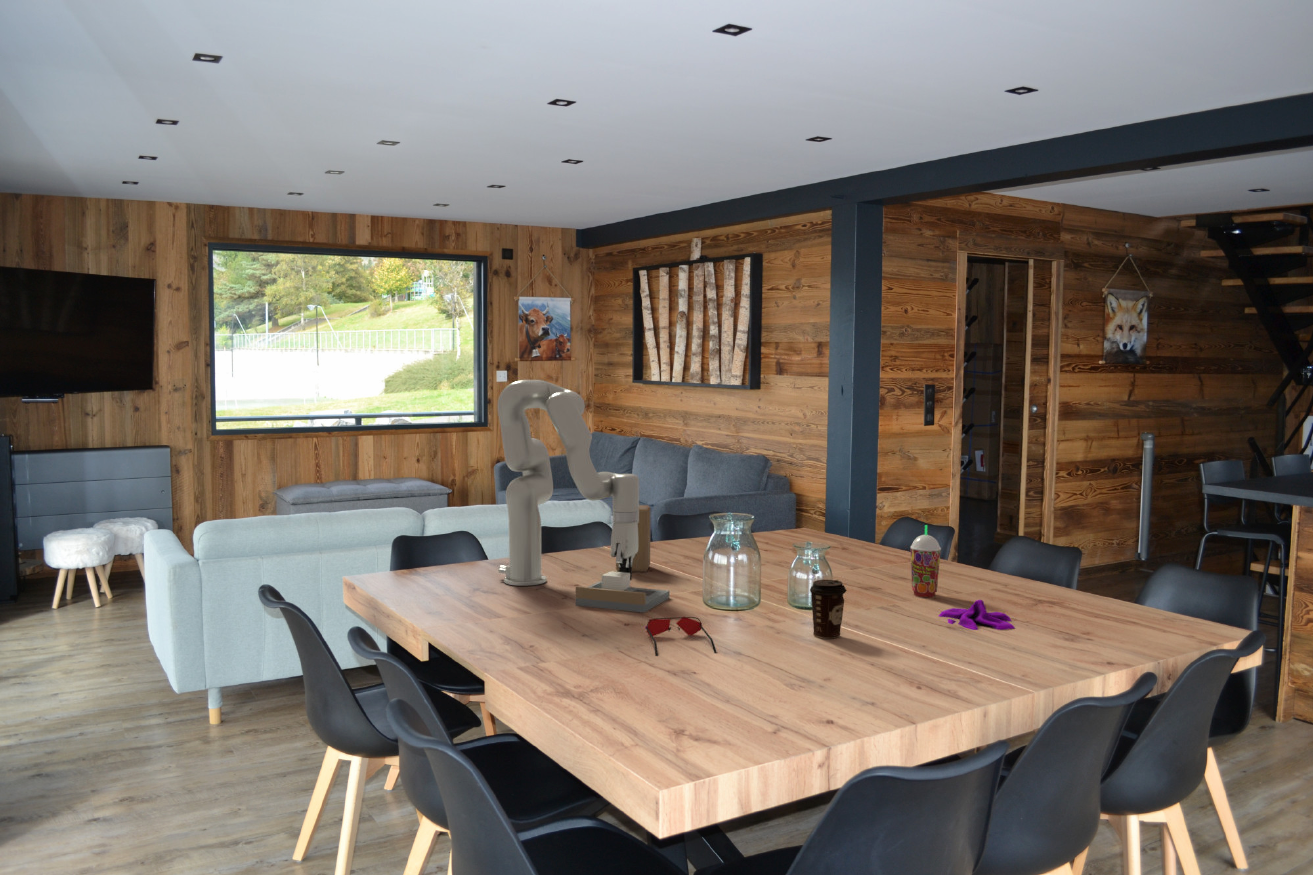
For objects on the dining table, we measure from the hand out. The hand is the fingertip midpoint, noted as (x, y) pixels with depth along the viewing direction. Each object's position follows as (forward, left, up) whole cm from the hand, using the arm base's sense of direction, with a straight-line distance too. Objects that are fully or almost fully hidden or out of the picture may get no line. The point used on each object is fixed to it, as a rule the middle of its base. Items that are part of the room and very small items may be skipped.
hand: (625, 580), depth 282 cm
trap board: (+5, -13, -3) cm, 14 cm away
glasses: (+34, -45, -4) cm, 57 cm away
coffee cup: (+64, -25, -3) cm, 69 cm away
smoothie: (+80, +28, -3) cm, 85 cm away
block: (-10, +28, -3) cm, 30 cm away
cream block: (0, -7, -1) cm, 7 cm away
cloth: (+96, +3, -4) cm, 96 cm away
